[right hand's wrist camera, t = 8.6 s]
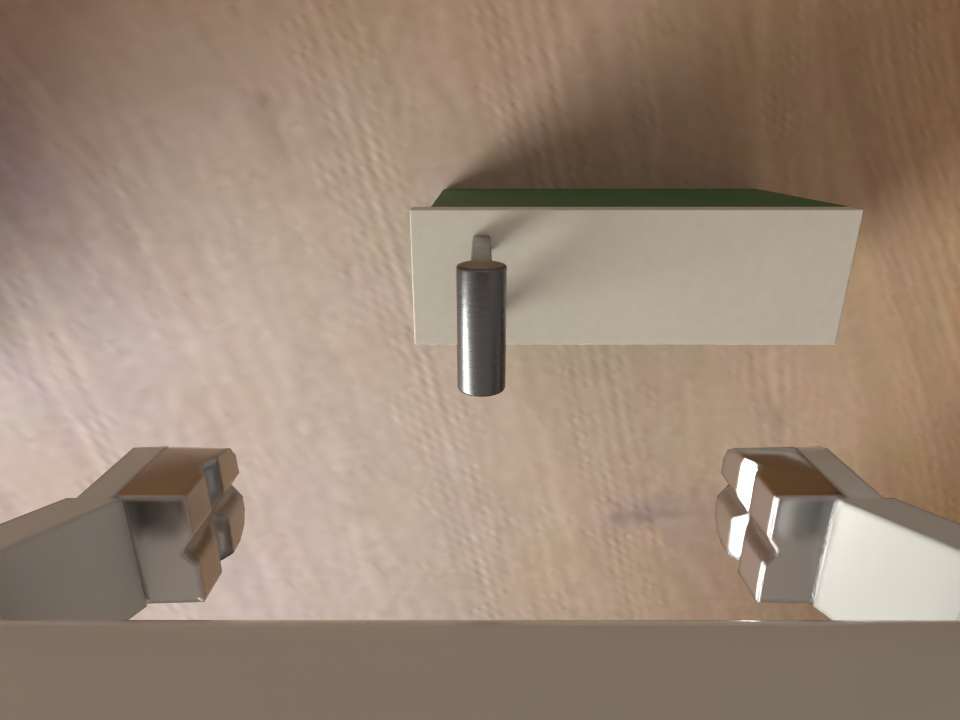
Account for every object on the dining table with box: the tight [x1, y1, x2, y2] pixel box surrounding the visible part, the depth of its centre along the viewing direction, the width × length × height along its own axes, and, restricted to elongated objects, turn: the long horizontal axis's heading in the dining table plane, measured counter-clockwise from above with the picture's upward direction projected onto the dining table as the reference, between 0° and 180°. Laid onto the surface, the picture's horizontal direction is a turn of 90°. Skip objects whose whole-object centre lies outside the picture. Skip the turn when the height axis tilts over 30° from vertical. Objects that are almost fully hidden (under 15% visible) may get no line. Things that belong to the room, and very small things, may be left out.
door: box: [410, 207, 864, 397], centre depth 22 cm, size 18×6×8 cm, turn 90°
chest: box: [432, 189, 847, 207], centre depth 30 cm, size 17×6×9 cm, turn 90°
